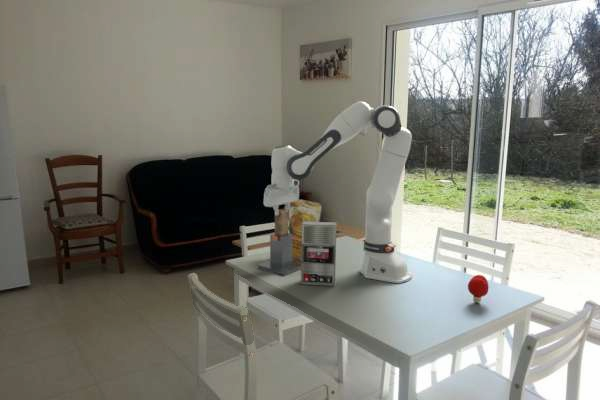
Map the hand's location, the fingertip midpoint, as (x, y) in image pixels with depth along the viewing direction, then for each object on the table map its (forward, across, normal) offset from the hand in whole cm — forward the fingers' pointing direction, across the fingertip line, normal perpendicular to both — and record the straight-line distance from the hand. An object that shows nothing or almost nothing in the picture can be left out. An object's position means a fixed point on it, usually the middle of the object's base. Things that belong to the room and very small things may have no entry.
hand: (281, 214), depth 203 cm
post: (+18, 0, 0) cm, 18 cm away
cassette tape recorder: (+25, -5, -24) cm, 35 cm away
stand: (+25, 0, 0) cm, 25 cm away
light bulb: (+25, +16, -81) cm, 86 cm away
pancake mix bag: (+25, +18, +2) cm, 31 cm away
